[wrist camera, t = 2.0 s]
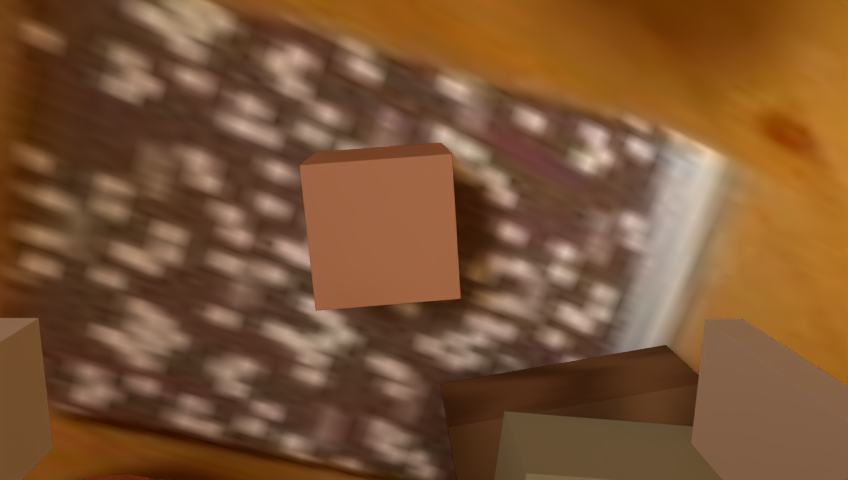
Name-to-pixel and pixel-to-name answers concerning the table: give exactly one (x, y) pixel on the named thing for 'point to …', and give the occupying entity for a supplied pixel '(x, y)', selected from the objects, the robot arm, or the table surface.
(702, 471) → the tower top
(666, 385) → the tower base
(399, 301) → the block
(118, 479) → the cell model
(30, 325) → the robot arm
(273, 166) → the table surface
